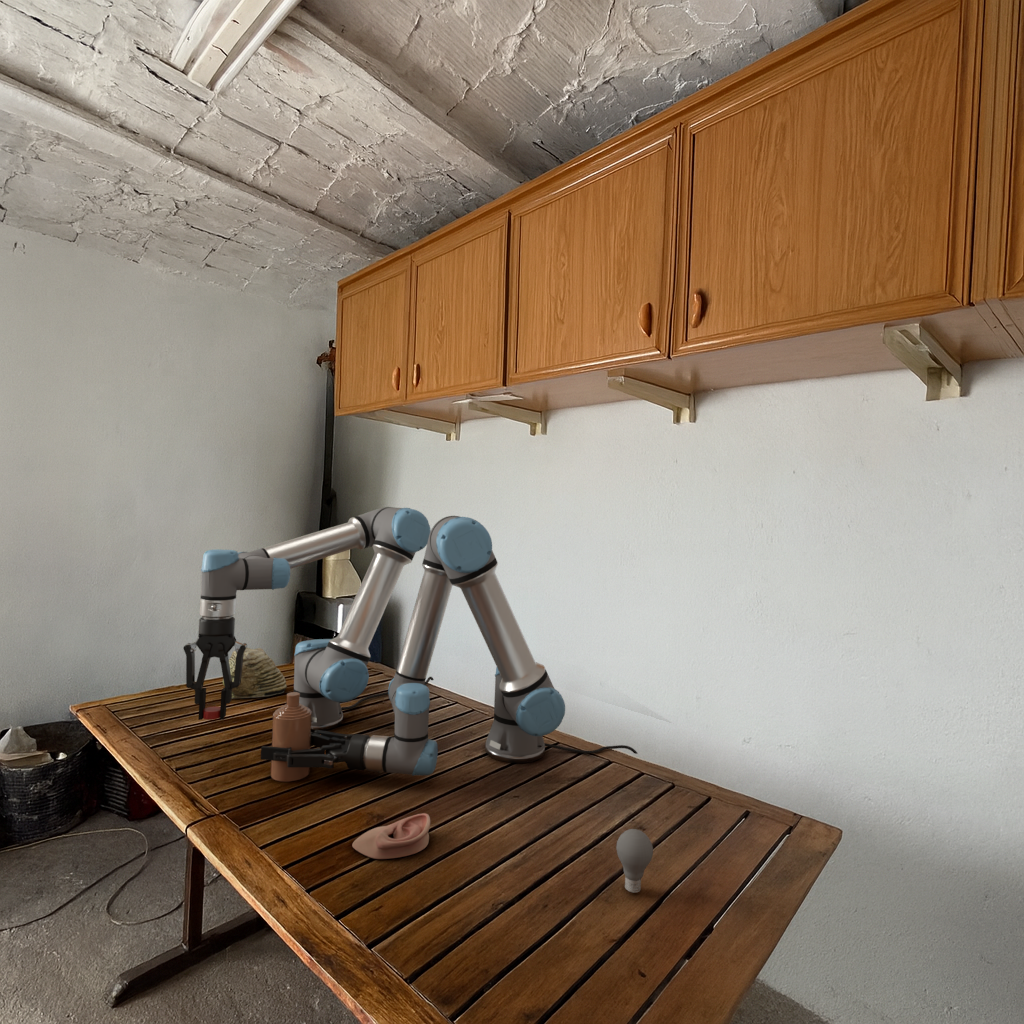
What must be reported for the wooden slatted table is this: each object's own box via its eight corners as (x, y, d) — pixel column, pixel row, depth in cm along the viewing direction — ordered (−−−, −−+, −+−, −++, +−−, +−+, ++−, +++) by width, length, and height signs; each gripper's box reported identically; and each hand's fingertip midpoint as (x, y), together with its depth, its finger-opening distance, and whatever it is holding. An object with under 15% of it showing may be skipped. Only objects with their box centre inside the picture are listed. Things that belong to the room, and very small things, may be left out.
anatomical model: (345, 832, 112) (372, 802, 124) (344, 854, 113) (371, 822, 124) (415, 843, 110) (436, 812, 121) (414, 866, 110) (436, 832, 121)
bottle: (271, 783, 139) (274, 701, 138) (269, 768, 146) (272, 689, 146) (311, 778, 142) (314, 697, 142) (307, 763, 150) (310, 687, 149)
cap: (222, 718, 146) (222, 710, 146) (203, 720, 144) (203, 712, 144) (221, 713, 149) (221, 705, 149) (202, 715, 147) (202, 707, 147)
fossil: (218, 695, 195) (220, 647, 195) (278, 685, 208) (279, 640, 207) (228, 703, 189) (230, 653, 188) (289, 692, 201) (290, 645, 201)
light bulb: (610, 879, 108) (613, 822, 108) (644, 879, 109) (647, 822, 109) (619, 902, 102) (622, 840, 102) (655, 901, 103) (658, 840, 103)
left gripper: (172, 619, 141) (167, 723, 141) (253, 620, 145) (248, 722, 145) (182, 613, 148) (177, 712, 148) (259, 614, 152) (254, 711, 152)
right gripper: (351, 790, 132) (247, 781, 134) (381, 751, 153) (291, 743, 155) (352, 754, 132) (248, 746, 134) (382, 720, 153) (292, 713, 155)
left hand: (212, 717), depth 147 cm, fingers closed on cap, 4 cm apart
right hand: (271, 744), depth 144 cm, fingers closed on bottle, 8 cm apart
